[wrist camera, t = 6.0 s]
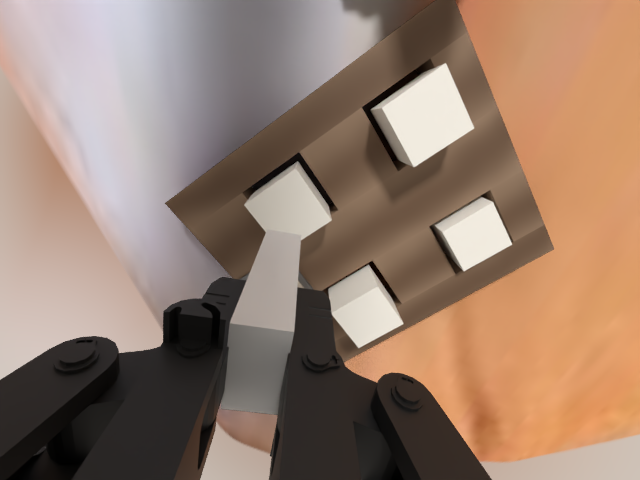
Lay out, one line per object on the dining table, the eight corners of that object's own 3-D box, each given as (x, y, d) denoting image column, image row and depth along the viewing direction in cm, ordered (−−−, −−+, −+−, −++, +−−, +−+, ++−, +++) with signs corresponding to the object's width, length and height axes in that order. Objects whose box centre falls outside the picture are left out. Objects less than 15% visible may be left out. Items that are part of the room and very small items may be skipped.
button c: (370, 109, 20) (381, 107, 17) (422, 72, 19) (445, 63, 16) (398, 160, 21) (413, 167, 18) (448, 127, 21) (474, 128, 17)
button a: (253, 192, 22) (243, 204, 19) (297, 161, 21) (295, 168, 18) (285, 234, 23) (282, 252, 20) (328, 206, 22) (331, 220, 19)
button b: (328, 288, 25) (330, 313, 22) (368, 264, 24) (377, 286, 21) (352, 320, 26) (358, 348, 23) (391, 298, 26) (403, 323, 23)
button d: (425, 217, 25) (442, 232, 22) (468, 191, 24) (492, 202, 21) (444, 252, 26) (463, 271, 23) (486, 228, 26) (512, 244, 23)
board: (181, 193, 24) (161, 205, 21) (430, 7, 20) (454, -15, 17) (319, 351, 31) (320, 378, 27) (528, 235, 27) (559, 251, 23)
